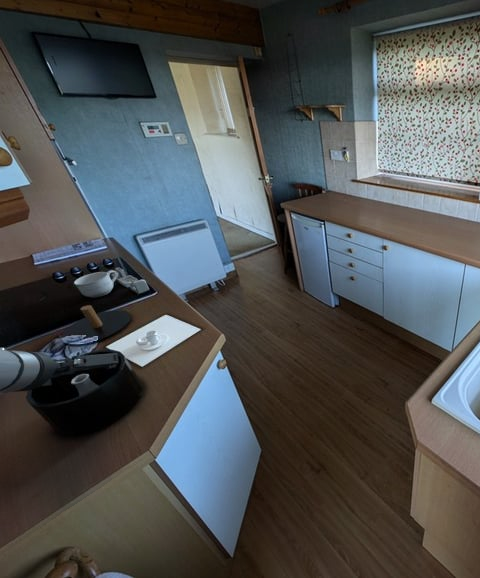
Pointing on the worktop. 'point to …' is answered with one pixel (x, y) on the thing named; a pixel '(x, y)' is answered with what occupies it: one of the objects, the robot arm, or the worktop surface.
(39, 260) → the worktop surface
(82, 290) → the teacup
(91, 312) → the lid
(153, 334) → the teacup and saucer
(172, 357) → the worktop surface
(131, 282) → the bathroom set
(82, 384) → the flask
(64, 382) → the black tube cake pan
